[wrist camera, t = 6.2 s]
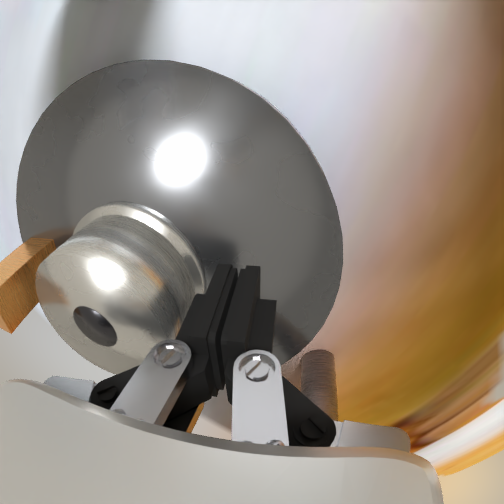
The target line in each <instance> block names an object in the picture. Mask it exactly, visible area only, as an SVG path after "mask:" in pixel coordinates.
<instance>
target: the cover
mask: <svg viewBox="0 0 504 504" xmlns="http://www.w3.org/2000/svg"><path fill="white" fill-rule="evenodd" d="M35 284H36V292H37V296H38V299H39V302H40V305H41V307H42V309H43V311H44V313H45V315H46V317H47V319H48V320H49V322H50V324H51V325H52V326H53V328H54V329H55V330H56V332H57V333H58V334H59V335H60V337H61V338H62V339H63V340H64V341H65V342H66V343H67V344H68V345H69V346H70V347H71V348H72V349H74V350H75V351H76V352H77V353H78V354H80V355H81V356H82V357H84V358H85V359H86V360H88V361H90V362H91V363H93V364H94V365H96V366H98V367H100V368H102V369H104V370H106V371H108V372H111V373H113V374H116V375H117V374H119V373H122V372H124V371H127V370H129V369H131V368H134V367H136V366H138V365H140V364H141V363H142V362H143V360H144V359H145V357H146V356H147V354H148V353H149V352H150V350H151V349H152V348H153V347H154V346H155V345H156V344H157V343H159V342H161V341H164V340H168V339H176V336H177V334H178V332H179V330H180V327H181V325H182V323H183V321H184V318H185V316H186V314H187V312H188V310H189V307H190V305H191V303H192V301H193V299H194V297H195V295H196V294H197V293H199V294H205V293H206V291H207V282H206V275H205V270H204V267H203V264H202V262H201V259H200V257H199V255H198V253H197V251H196V249H195V248H194V246H193V245H192V243H191V242H190V240H189V239H188V238H187V237H186V236H185V234H184V233H183V232H182V231H181V230H180V229H179V228H178V227H177V226H176V225H175V224H174V223H173V222H171V221H170V220H169V219H167V218H166V217H165V216H163V215H162V214H160V213H158V212H157V211H155V210H153V209H151V208H148V207H146V206H144V205H140V204H137V203H133V202H127V201H114V202H108V203H105V204H102V205H100V206H98V207H96V208H95V209H93V210H92V211H90V212H89V213H87V214H86V215H85V216H84V217H83V218H82V219H81V220H80V221H79V223H78V224H77V226H76V228H75V230H74V232H73V236H72V237H70V238H69V239H68V240H67V241H66V242H64V243H63V244H62V245H61V246H60V247H58V248H57V249H56V250H55V251H54V252H53V253H51V254H50V255H49V256H48V257H47V258H46V259H45V260H44V261H43V262H42V263H41V264H40V265H39V267H38V269H37V272H36V279H35Z"/></svg>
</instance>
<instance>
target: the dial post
mask: <svg viewBox="0 0 504 504" xmlns="http://www.w3.org/2000/svg"><path fill="white" fill-rule="evenodd" d="M301 393H302V394H304V395H305V396H306V397H307V398H308V399H309V400H311V401H312V402H313V403H314V404H315V405H316V406H318V407H319V408H320V409H321V410H322V411H323V412H325V413H326V414H327V415H328V416H329V417H330V418H331V419H332V420H333V421H338V404H337V388H336V374H335V362H334V356H333V354H331V353H330V352H328V351H325V350H314V351H311V352H308V353H306V354H305V355H304V356H303V357H302V359H301Z"/></svg>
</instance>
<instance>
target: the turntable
mask: <svg viewBox="0 0 504 504" xmlns="http://www.w3.org/2000/svg"><path fill="white" fill-rule="evenodd" d="M114 201H127V202H133V203H137V204H140V205H144V206H146V207H148V208H151V209H153V210H155V211H157V212H158V213H160V214H162V215H163V216H165V217H166V218H167V219H169V220H170V221H171V222H173V223H174V224H175V225H176V226H177V227H178V228H179V229H180V230H181V231H182V232H183V233H184V234H185V236H186V237H187V238H188V239H189V240H190V242H191V243H192V245H193V246H194V248H195V249H196V251H197V253H198V255H199V257H200V259H201V262H202V264H203V267H204V270H205V275H206V282H207V289H208V286H209V284H210V281H211V279H212V277H213V274H214V272H215V270H216V267H217V265H218V264H219V263H221V264H232V265H233V268H237V270H238V276H239V273H240V270H241V268H242V269H245V268H246V265H251V266H260V268H261V275H260V299H268V300H277V305H276V320H275V332H274V341H273V351H272V354H273V355H274V356H275V357H276V358H277V359H278V360H279V363H280V365H282V364H284V363H285V362H287V361H288V360H289V359H291V358H292V357H294V356H295V355H296V354H298V353H299V352H300V351H301V350H302V349H303V348H304V347H305V346H306V345H307V344H308V343H309V342H310V341H311V340H312V339H313V338H314V337H315V335H316V334H317V333H318V331H319V330H320V329H321V327H322V326H323V325H324V323H325V321H326V319H327V317H328V315H329V313H330V311H331V309H332V307H333V305H334V302H335V298H336V295H337V292H338V289H339V286H340V279H341V273H342V265H343V242H342V231H341V226H340V221H339V216H338V211H337V206H336V204H335V201H334V198H333V195H332V193H331V190H330V187H329V185H328V182H327V180H326V177H325V175H324V173H323V170H322V168H321V166H320V164H319V162H318V161H317V159H316V157H315V156H314V154H313V152H312V150H311V149H310V147H309V145H308V144H307V142H306V141H305V139H304V138H303V137H302V136H301V134H300V133H299V132H298V131H297V129H296V128H295V127H294V126H293V125H292V123H291V122H290V121H289V120H288V119H287V118H286V117H285V116H284V115H283V114H282V113H281V112H280V111H279V110H278V109H276V108H275V107H274V106H273V105H272V104H271V103H270V102H269V101H267V100H266V99H265V98H264V97H262V96H261V95H259V94H257V93H256V92H254V91H253V90H251V89H250V88H248V87H246V86H245V85H243V84H241V83H240V82H238V81H235V80H233V79H231V78H228V77H226V76H224V75H221V74H219V73H216V72H214V71H211V70H208V69H205V68H202V67H199V66H195V65H190V64H185V63H180V62H175V61H170V60H138V61H131V62H125V63H120V64H115V65H112V66H109V67H106V68H103V69H101V70H98V71H95V72H93V73H91V74H89V75H87V76H85V77H84V78H82V79H80V80H79V81H77V82H75V83H74V84H72V85H71V86H70V87H68V88H67V89H66V90H65V91H64V92H62V93H61V94H60V95H59V96H58V97H57V98H56V99H55V100H54V101H53V102H52V103H51V104H50V105H49V107H48V108H47V109H46V110H45V111H44V113H43V114H42V115H41V117H40V118H39V120H38V122H37V123H36V125H35V127H34V128H33V130H32V132H31V134H30V136H29V139H28V141H27V143H26V146H25V148H24V152H23V155H22V159H21V162H20V166H19V172H18V179H17V194H16V203H17V215H18V223H19V228H20V233H21V237H22V241H23V244H22V245H21V246H19V247H18V248H17V249H16V250H14V251H13V252H12V253H11V254H10V255H8V256H7V257H6V258H5V259H4V260H2V261H1V262H0V328H1V329H3V330H5V331H7V332H9V333H11V334H12V333H13V331H14V330H15V329H16V328H17V327H18V325H19V324H20V323H21V322H22V320H23V319H24V318H25V317H26V316H27V315H28V314H29V312H30V311H31V310H32V309H33V308H34V307H35V306H36V305H37V303H38V302H39V299H38V296H37V292H36V284H35V279H36V272H37V269H38V267H39V265H40V264H41V263H42V262H43V261H44V260H45V259H46V258H47V257H48V256H49V255H50V254H51V253H53V252H54V251H55V250H56V249H57V248H58V247H60V246H61V245H62V244H63V243H64V242H66V241H67V240H68V239H69V238H70V237H72V236H73V232H74V230H75V228H76V226H77V224H78V223H79V221H80V220H81V219H82V218H83V217H84V216H85V215H86V214H87V213H89V212H90V211H92V210H93V209H95V208H96V207H98V206H100V205H102V204H105V203H108V202H114Z"/></svg>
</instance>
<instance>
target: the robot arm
mask: <svg viewBox="0 0 504 504" xmlns="http://www.w3.org/2000/svg"><path fill="white" fill-rule="evenodd" d="M260 275H261V268H260V266H251V265H246V268H245V269H242V268H241V270H240V273H239V276H238V270H237V268H233V265H232V264H221V263H219V264H218V265H217V267H216V270H215V272H214V274H213V277H212V279H211V281H210V284H209V286H208V289H207V291H206V293H205V294H199V293H197V294H196V295H195V297H194V299H193V301H192V303H191V305H190V307H189V310H188V312H187V314H186V316H185V318H184V321H183V323H182V325H181V327H180V330H179V332H178V334H177V336H176V339H168V340H164V341H161V342H159V343H157V344H156V345H155V346H154V347H153V348H152V349H151V350H150V352H149V353H148V354H147V356H146V357H145V359H144V360H143V362H142V363H141V364H140V365H138V366H136V367H134V368H131V369H129V370H127V371H124V372H122V373H119V374H117V375H115V376H112V377H110V378H107V379H105V380H103V381H101V382H99V383H98V384H96V383H95V382H94V381H91V380H82V379H74V378H67V377H60V376H52V377H50V378H48V379H47V380H46V381H45V382H44V383H40V382H37V381H32V380H24V379H14V380H9V381H6V382H3V383H2V384H1V385H0V504H444V503H443V496H442V490H441V485H440V482H439V478H438V475H437V473H436V471H435V469H434V467H433V466H432V465H431V463H430V462H429V461H427V460H426V459H424V458H422V457H420V456H418V455H415V454H413V453H410V438H409V436H408V435H407V433H406V432H405V431H403V430H402V429H399V428H396V427H387V426H379V425H372V424H365V423H358V422H352V421H347V420H344V422H339V421H333V420H332V419H331V418H330V417H329V416H328V415H327V414H326V413H325V412H323V411H322V410H321V409H320V408H319V407H318V406H316V405H315V404H314V403H313V402H312V401H311V400H309V399H308V398H307V397H306V396H305V395H304V394H302V393H301V392H300V391H299V390H298V389H297V388H296V387H294V386H293V385H292V384H291V383H290V382H289V381H288V380H287V379H286V378H284V377H283V376H282V374H281V366H280V363H279V360H278V359H277V358H276V357H275V356H274V355H273V354H272V351H273V341H274V332H275V320H276V305H277V300H268V299H260ZM225 382H226V389H227V396H228V401H229V402H230V404H231V405H232V440H225V439H219V438H213V437H207V436H202V435H197V434H192V433H191V432H192V430H193V428H194V426H195V424H196V422H197V420H198V418H199V416H200V414H201V411H202V409H203V407H204V402H205V401H207V400H209V399H211V397H212V396H216V397H217V395H218V391H219V389H220V390H223V389H224V386H225Z"/></svg>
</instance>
